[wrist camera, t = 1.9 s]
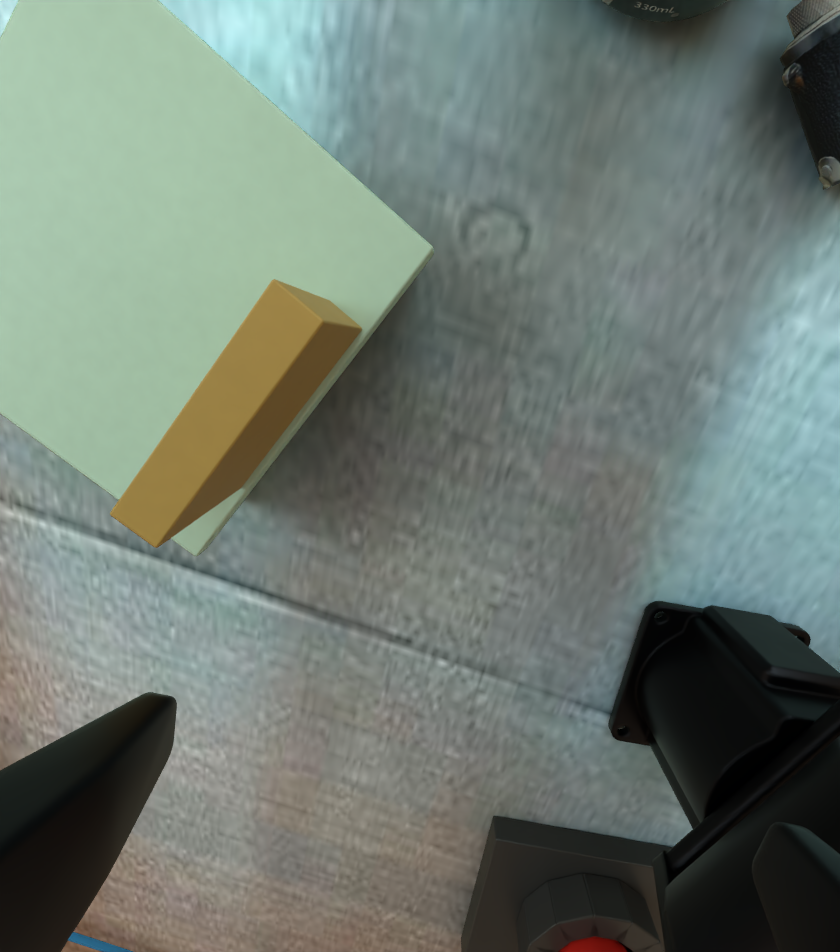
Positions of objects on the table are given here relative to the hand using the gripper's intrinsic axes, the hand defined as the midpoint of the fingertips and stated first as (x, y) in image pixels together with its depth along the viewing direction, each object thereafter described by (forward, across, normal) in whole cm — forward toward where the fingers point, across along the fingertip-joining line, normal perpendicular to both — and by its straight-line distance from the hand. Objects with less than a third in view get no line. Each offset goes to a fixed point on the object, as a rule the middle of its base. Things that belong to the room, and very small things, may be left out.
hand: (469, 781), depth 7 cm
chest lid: (+9, +10, -6) cm, 15 cm away
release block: (+13, -10, +18) cm, 24 cm away
